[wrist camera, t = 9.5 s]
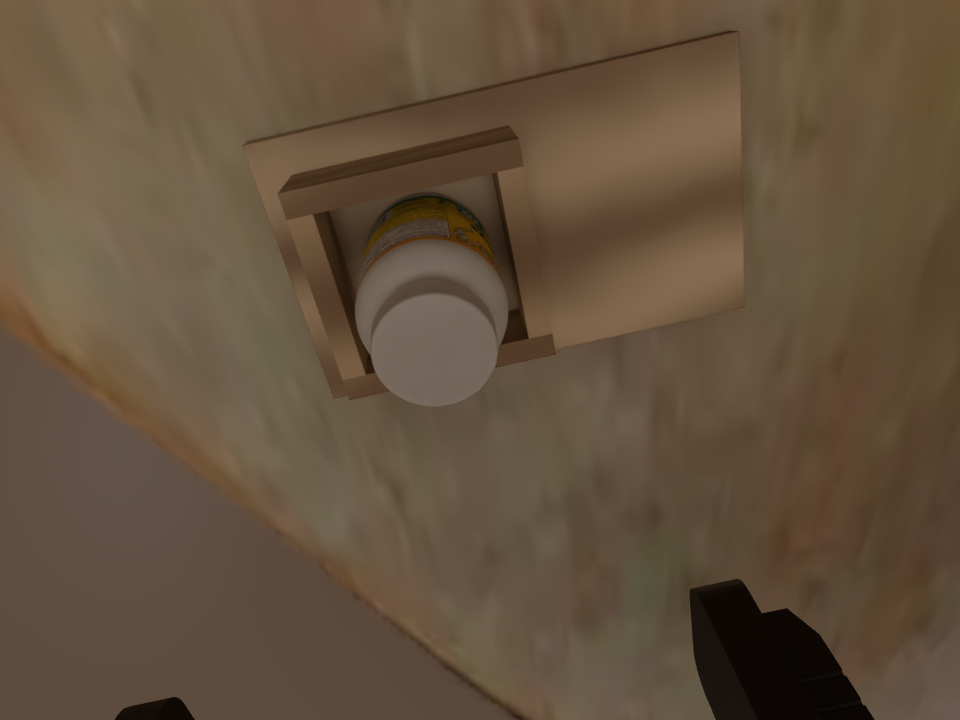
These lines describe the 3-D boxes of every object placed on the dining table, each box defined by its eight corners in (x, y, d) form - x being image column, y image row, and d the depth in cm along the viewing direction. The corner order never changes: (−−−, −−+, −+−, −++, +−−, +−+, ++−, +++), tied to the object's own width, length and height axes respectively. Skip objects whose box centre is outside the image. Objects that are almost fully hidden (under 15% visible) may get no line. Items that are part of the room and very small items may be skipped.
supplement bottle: (352, 204, 28) (324, 289, 20) (478, 179, 28) (505, 253, 20) (383, 319, 31) (371, 439, 22) (499, 297, 31) (531, 407, 22)
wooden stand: (246, 142, 27) (221, 161, 24) (730, 30, 27) (778, 33, 23) (335, 390, 33) (326, 435, 29) (737, 301, 33) (776, 336, 29)
